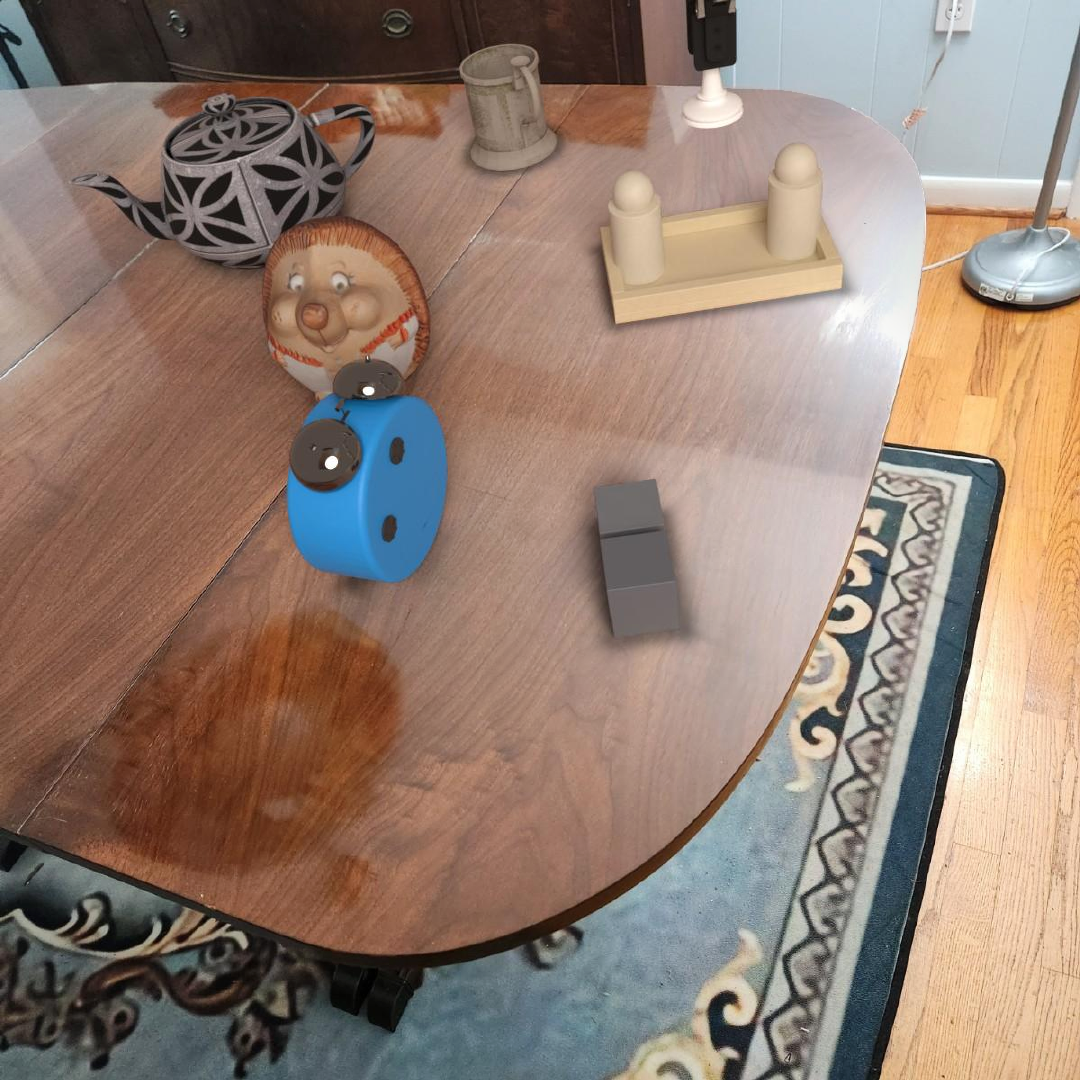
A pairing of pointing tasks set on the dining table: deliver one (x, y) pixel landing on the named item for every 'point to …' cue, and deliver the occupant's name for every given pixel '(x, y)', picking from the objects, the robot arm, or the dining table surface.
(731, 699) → the dining table surface
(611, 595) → the slate blocks
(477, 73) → the mug
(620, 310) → the pawn tray
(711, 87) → the chess piece
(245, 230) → the teapot
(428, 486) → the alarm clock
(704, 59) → the robot arm
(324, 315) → the figurine
